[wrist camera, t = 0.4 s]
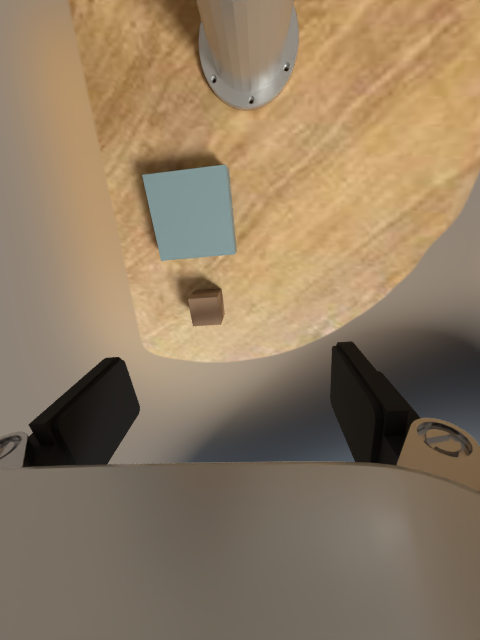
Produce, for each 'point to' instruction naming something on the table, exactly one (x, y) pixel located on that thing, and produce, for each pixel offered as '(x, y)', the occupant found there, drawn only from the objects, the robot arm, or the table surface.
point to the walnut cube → (206, 307)
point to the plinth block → (192, 212)
